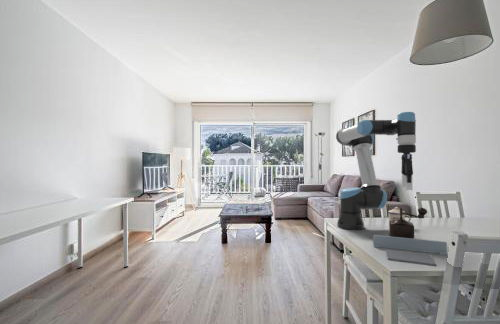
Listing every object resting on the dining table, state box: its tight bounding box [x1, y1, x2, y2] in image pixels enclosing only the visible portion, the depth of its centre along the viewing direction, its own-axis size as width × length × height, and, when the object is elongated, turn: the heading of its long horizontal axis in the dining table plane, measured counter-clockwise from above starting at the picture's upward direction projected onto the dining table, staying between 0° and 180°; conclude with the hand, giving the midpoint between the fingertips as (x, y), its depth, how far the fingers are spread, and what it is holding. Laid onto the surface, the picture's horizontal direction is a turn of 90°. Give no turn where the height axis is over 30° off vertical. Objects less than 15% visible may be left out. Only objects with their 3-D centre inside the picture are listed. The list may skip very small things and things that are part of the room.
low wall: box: [372, 234, 448, 256], centre depth 118 cm, size 4×28×5 cm, turn 66°
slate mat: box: [385, 248, 437, 267], centre depth 108 cm, size 12×16×1 cm
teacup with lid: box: [388, 206, 412, 222], centre depth 159 cm, size 12×9×12 cm
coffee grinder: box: [388, 207, 428, 239], centre depth 127 cm, size 16×11×18 cm
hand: (406, 188), depth 127 cm, fingers open, 13 cm apart
